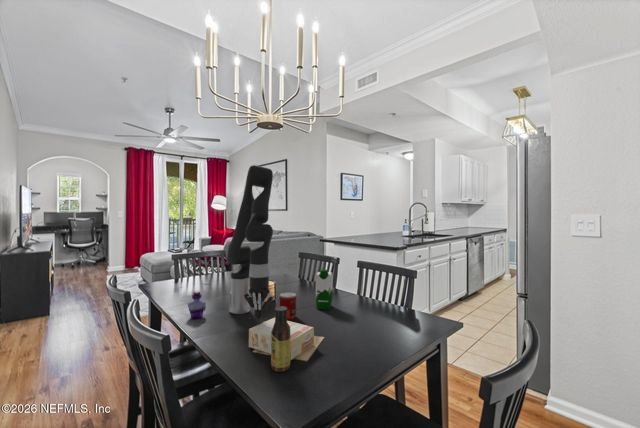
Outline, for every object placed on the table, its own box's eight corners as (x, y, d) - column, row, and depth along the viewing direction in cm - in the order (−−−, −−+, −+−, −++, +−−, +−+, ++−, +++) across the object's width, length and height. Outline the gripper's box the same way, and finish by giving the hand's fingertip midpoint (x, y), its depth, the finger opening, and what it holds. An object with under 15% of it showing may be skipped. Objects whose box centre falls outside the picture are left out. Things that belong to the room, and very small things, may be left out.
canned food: (293, 320, 142) (293, 297, 142) (277, 319, 144) (277, 296, 144) (298, 315, 150) (298, 292, 150) (282, 314, 152) (282, 291, 151)
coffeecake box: (248, 347, 114) (290, 361, 104) (248, 328, 114) (290, 340, 104) (274, 334, 127) (314, 345, 116) (274, 316, 126) (314, 326, 116)
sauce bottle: (271, 363, 103) (272, 304, 103) (290, 362, 103) (290, 304, 103) (270, 374, 96) (270, 311, 96) (290, 373, 97) (290, 310, 97)
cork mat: (252, 352, 111) (252, 351, 111) (276, 331, 130) (276, 330, 130) (307, 361, 105) (307, 360, 105) (324, 337, 124) (324, 337, 124)
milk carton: (314, 309, 158) (315, 271, 158) (316, 304, 167) (317, 267, 167) (331, 310, 157) (332, 271, 157) (332, 304, 166) (333, 268, 166)
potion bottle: (209, 317, 146) (209, 292, 146) (191, 322, 140) (191, 295, 140) (201, 312, 152) (201, 288, 152) (183, 317, 146) (183, 292, 146)
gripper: (239, 275, 119) (239, 319, 120) (269, 278, 115) (269, 323, 116) (249, 271, 127) (249, 313, 127) (278, 274, 122) (278, 317, 123)
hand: (259, 318), depth 121 cm, fingers closed
